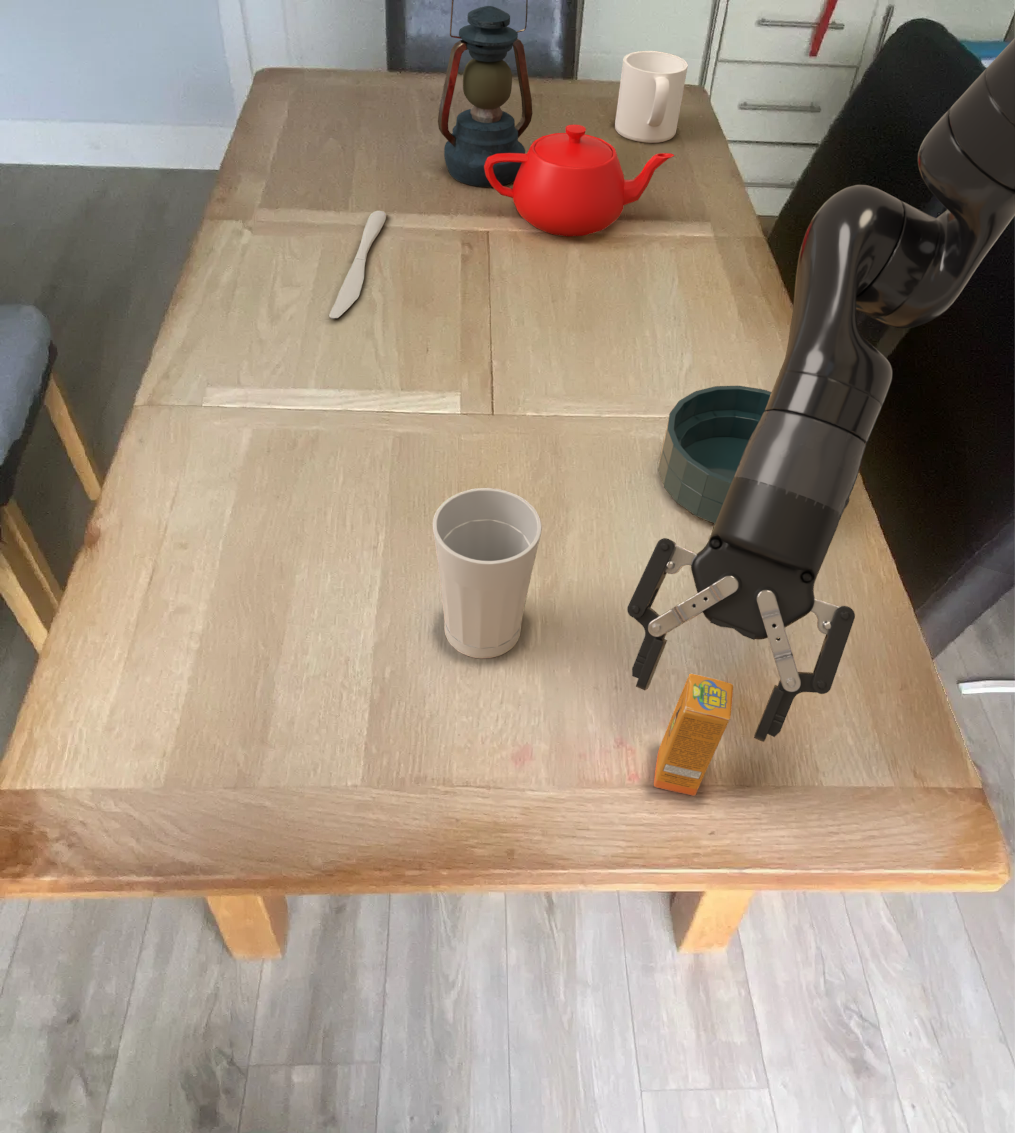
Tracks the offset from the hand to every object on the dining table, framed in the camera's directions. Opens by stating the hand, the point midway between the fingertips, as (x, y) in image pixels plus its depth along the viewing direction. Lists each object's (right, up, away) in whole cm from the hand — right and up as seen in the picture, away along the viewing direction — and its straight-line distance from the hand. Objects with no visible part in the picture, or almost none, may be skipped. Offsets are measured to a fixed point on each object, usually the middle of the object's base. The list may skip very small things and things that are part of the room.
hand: (699, 712), depth 62 cm
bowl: (+9, +18, +27) cm, 34 cm away
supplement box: (-1, -5, +4) cm, 7 cm away
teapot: (-4, +58, +63) cm, 86 cm away
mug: (+9, +80, +85) cm, 117 cm away
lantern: (-17, +69, +72) cm, 101 cm away
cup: (-15, +5, +13) cm, 20 cm away
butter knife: (-32, +48, +52) cm, 78 cm away
